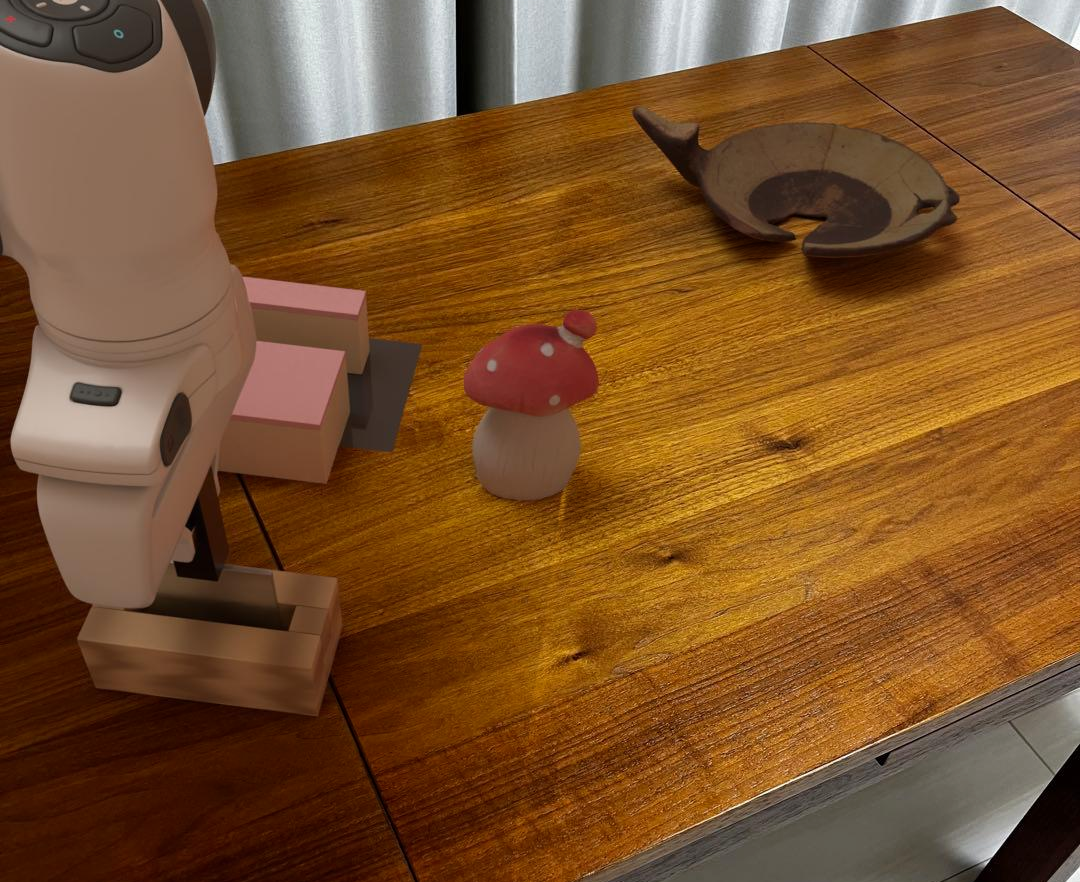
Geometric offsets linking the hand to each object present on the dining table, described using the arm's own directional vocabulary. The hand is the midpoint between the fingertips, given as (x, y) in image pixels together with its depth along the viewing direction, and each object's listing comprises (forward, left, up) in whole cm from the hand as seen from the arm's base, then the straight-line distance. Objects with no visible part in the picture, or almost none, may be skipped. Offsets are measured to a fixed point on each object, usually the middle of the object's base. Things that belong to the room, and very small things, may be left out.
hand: (192, 527), depth 67 cm
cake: (-2, +20, -12) cm, 24 cm away
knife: (0, 0, -10) cm, 10 cm away
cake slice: (-2, +30, -12) cm, 32 cm away
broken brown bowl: (+38, +60, -14) cm, 72 cm away
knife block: (0, 0, -13) cm, 13 cm away
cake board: (-2, +24, -13) cm, 28 cm away
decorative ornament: (+17, +20, -14) cm, 29 cm away
